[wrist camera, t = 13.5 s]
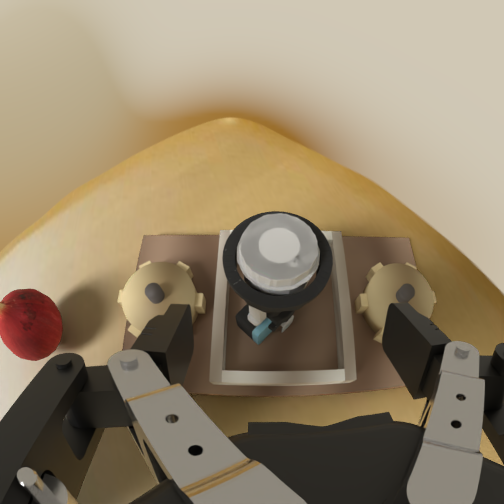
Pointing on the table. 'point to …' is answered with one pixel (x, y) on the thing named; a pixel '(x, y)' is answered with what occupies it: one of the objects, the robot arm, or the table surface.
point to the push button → (275, 269)
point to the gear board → (280, 343)
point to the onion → (30, 324)
